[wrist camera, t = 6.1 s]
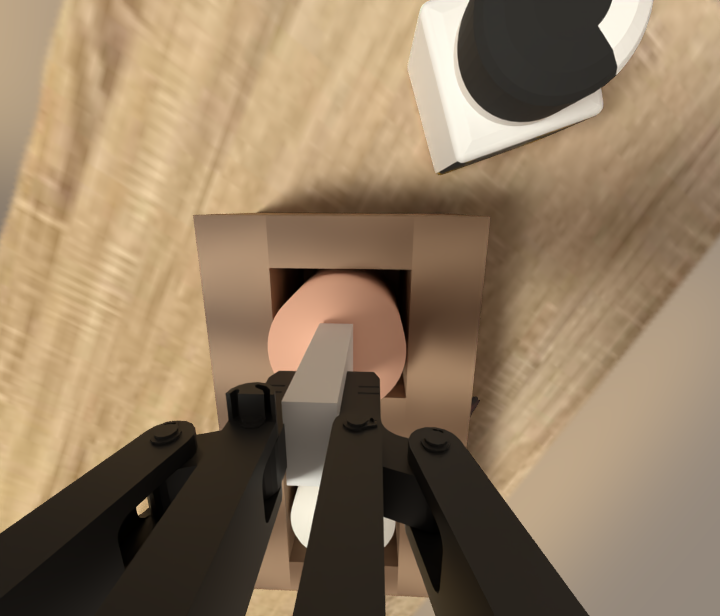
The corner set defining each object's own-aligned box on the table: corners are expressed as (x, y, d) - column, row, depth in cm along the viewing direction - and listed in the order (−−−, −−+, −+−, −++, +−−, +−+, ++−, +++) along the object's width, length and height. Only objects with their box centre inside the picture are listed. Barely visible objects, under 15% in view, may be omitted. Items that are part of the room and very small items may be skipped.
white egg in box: (389, 471, 30) (393, 563, 22) (314, 469, 30) (293, 559, 22) (391, 405, 28) (397, 479, 20) (311, 402, 28) (287, 475, 20)
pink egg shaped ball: (394, 349, 24) (403, 414, 17) (304, 348, 25) (272, 410, 17) (397, 258, 23) (409, 284, 15) (300, 257, 23) (262, 282, 15)
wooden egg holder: (430, 490, 31) (451, 598, 23) (275, 485, 32) (238, 587, 23) (450, 213, 25) (490, 216, 16) (255, 212, 25) (193, 215, 17)
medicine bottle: (435, 177, 24) (489, 148, 13) (405, 65, 22) (437, -88, 11) (539, 139, 23) (701, 71, 12) (516, 20, 21) (680, -199, 10)
